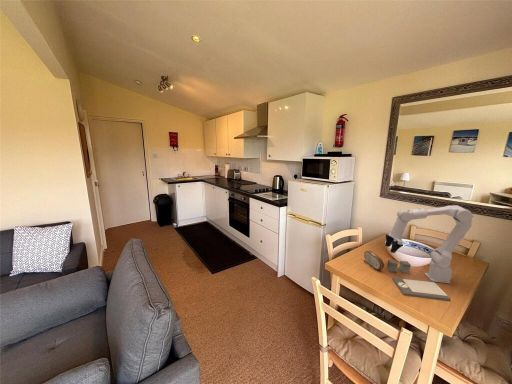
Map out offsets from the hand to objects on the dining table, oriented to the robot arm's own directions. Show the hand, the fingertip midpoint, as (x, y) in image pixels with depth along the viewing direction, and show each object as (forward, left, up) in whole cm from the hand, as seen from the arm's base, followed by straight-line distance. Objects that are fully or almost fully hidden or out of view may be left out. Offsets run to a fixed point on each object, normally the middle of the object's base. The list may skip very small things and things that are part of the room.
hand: (389, 249), depth 130 cm
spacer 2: (-10, -1, -14) cm, 17 cm away
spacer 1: (-3, -1, -14) cm, 14 cm away
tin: (+7, -4, -14) cm, 16 cm away
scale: (-10, +16, -14) cm, 24 cm away
